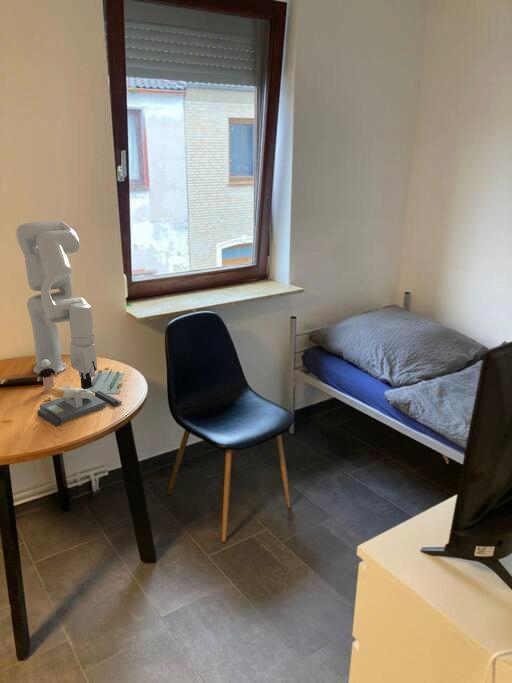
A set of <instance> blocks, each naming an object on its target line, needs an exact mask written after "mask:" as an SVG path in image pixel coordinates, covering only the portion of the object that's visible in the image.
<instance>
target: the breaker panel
mask: <svg viewBox="0 0 512 683" xmlns="http://www.w3.org/2000/svg"><path fill="white" fill-rule="evenodd" d="M61 388H70V385H66V386H63V387H61ZM106 404H107V403H106V402H105V401H103V400H101V399H99V398H97V397H96V396H95V394H93V398H82V394H81V392H79V393H76V394H74V398H65V397H63V398H56V399H53V400H50V401H47V402H44V403H41V404H39V410H40V409H44V410H45V411H47V412H49V413H50V414H52V415H53V416H55V417H56V418H58V419H60V420H61V425H62V424H64V423H66V422H67V423H68V422H70V421H72V420H74V419H75V420H76V419H78V418H80V417H82V416H85V415H87V414H88V415H89V414H91V413H93V412H94V413H95V412H97V411H99V410H102V409H104V408H107V405H106Z"/></svg>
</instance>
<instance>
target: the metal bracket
mask: <svg viewBox="0 0 512 683" xmlns="http://www.w3.org/2000/svg"><path fill="white" fill-rule="evenodd" d="M124 375H125V373H124V372H120V371H118V370H117V371H116V372H115V371H113V369H112V368H110V370H109V371H105V370H102V369H98V370H96V372H95V376H93V377H92V378H91V382H92V387H91V388H88V389H87V390H89V391H91V392H93V393H95V392H96V391H104V392H105V393H107V394H109V395H119V394H120V392H121V388H118V387H119V384H120V383H121V381H122V379H123V377H124ZM80 389H82V388H80Z"/></svg>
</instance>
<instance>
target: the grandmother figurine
mask: <svg viewBox="0 0 512 683" xmlns="http://www.w3.org/2000/svg"><path fill="white" fill-rule="evenodd" d="M49 366H50V362H49V360H47V359H45V360H43V361H42V362H41V367H43V368H44V370H42V371H41V372H40V373H39V374H37V379H36V381H37V382H40V381H41V378H42V382H43V393H44V394H50V393H49V389H50V387H55V382H54V378H53V376H55V377H56V378H57V377H58V373H56V372H55V371H54V370H53V369H52V368H49ZM51 373H53V374H51Z"/></svg>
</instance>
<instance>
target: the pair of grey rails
mask: <svg viewBox="0 0 512 683" xmlns="http://www.w3.org/2000/svg"><path fill="white" fill-rule="evenodd" d="M94 396H96V397H97V398H99V399H101V400H103V401H105V404H108V405H109V406H112V407H113V408H115V407H117V406H120V405H123V404H122V400H121V399H119V398H117V397H115V396H113V395H112V394H107V393H105V392H104V391H96V392H94ZM37 415H38V416H39V417H41V419H43V420H44V421H46V422H48V423H49V424H50V425H53V427H55V428H57V427H60V426H62V424H61V420H60V419H58V418H56V417H55V416H53V415H52V414H50V413H49V412H47V411H45V410H44V409H40V408H39V409H38V410H37Z"/></svg>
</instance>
